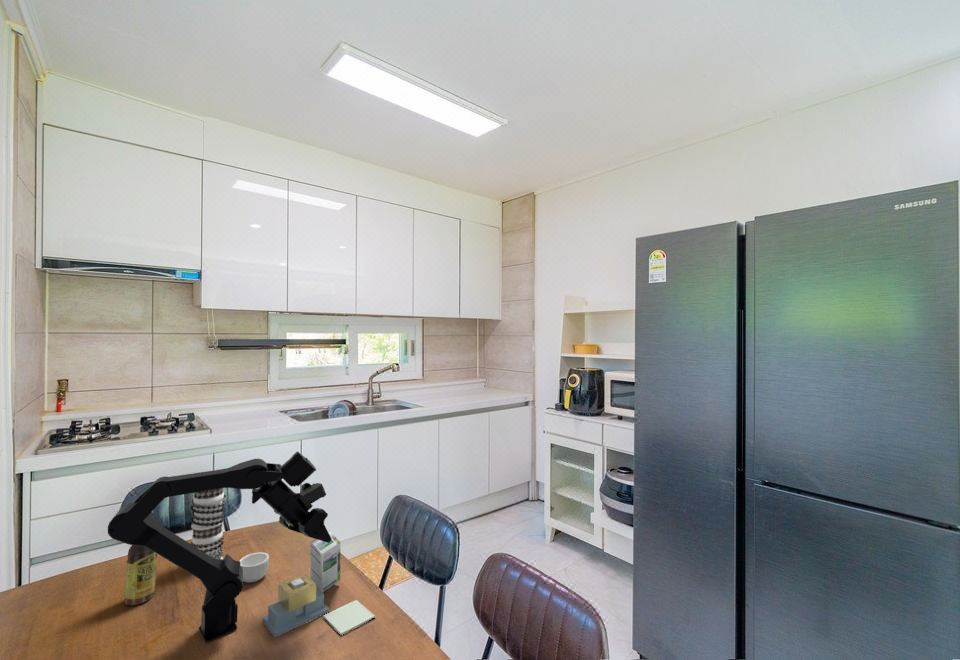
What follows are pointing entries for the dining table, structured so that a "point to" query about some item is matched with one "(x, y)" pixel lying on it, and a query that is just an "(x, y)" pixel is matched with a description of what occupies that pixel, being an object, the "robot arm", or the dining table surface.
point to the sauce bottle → (140, 575)
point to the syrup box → (325, 562)
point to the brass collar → (296, 593)
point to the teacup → (254, 566)
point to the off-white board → (348, 617)
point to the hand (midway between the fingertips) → (323, 538)
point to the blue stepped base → (293, 613)
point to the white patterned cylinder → (208, 521)
